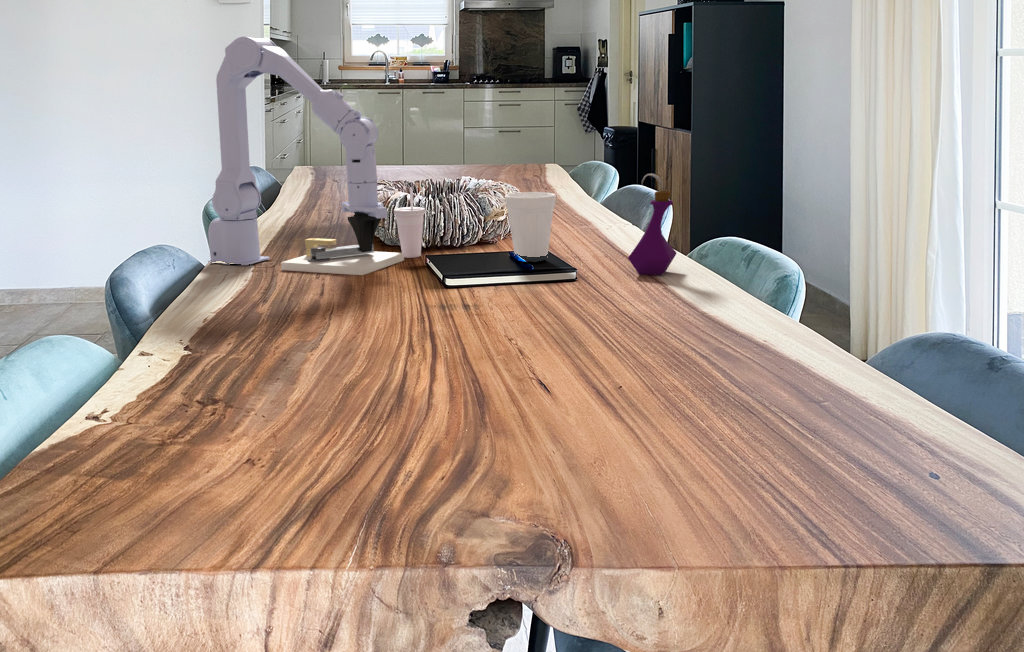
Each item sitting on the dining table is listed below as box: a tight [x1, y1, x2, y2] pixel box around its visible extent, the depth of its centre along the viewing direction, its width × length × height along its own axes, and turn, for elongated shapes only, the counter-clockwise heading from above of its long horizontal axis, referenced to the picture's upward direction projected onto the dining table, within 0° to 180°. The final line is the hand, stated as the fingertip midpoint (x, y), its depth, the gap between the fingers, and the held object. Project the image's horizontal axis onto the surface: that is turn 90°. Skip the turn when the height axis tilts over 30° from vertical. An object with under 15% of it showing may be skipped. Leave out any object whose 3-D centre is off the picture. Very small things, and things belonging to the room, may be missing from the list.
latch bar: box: [311, 244, 375, 259], centre depth 197 cm, size 12×3×2 cm, turn 123°
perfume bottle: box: [627, 173, 677, 276], centre depth 182 cm, size 8×8×18 cm
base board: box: [280, 250, 405, 276], centre depth 198 cm, size 18×16×2 cm
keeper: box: [304, 237, 338, 256], centre depth 199 cm, size 6×2×3 cm, turn 67°
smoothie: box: [393, 186, 426, 259], centre depth 205 cm, size 6×6×14 cm
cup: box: [504, 191, 557, 257], centre depth 196 cm, size 10×10×13 cm
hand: (366, 251), depth 198 cm, fingers closed, pressing on latch bar
